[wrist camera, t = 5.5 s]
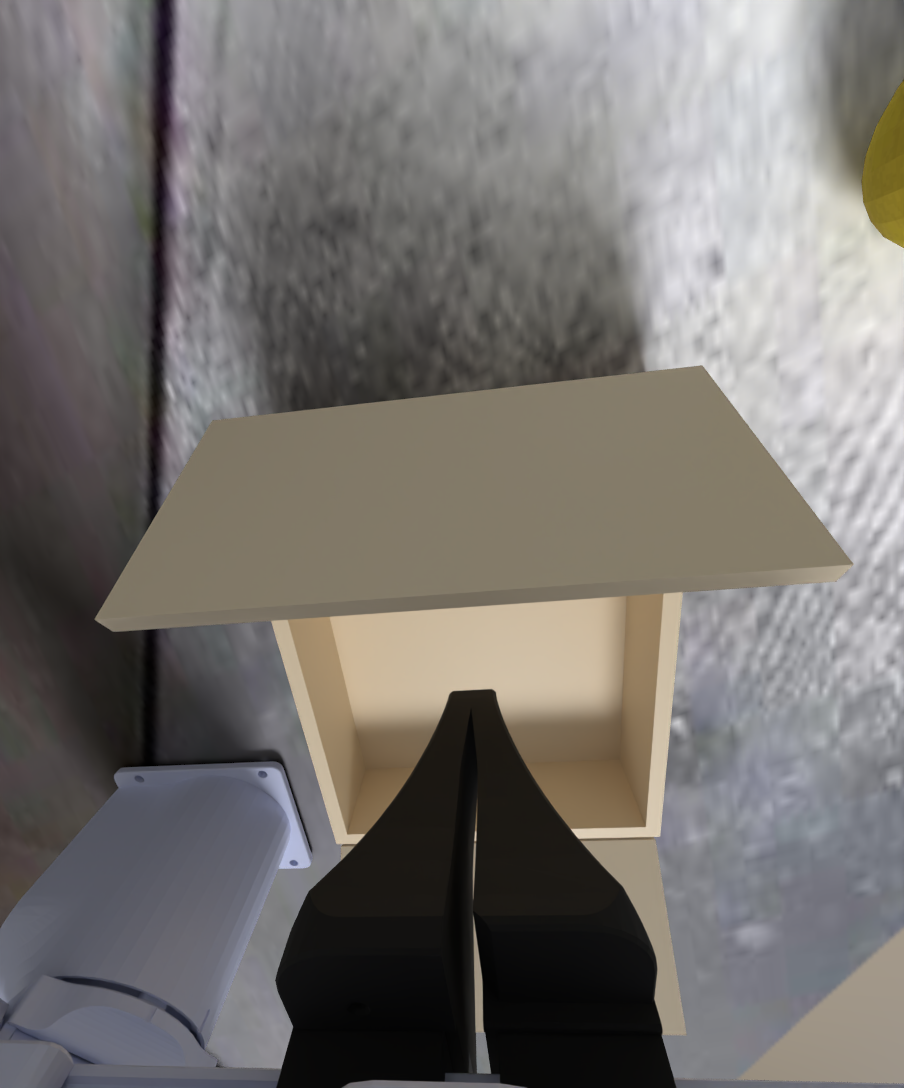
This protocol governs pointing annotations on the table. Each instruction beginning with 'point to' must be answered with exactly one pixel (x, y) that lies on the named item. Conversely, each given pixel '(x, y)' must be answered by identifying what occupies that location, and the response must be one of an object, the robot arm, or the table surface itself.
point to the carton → (522, 693)
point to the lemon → (887, 172)
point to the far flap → (643, 885)
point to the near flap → (473, 507)
